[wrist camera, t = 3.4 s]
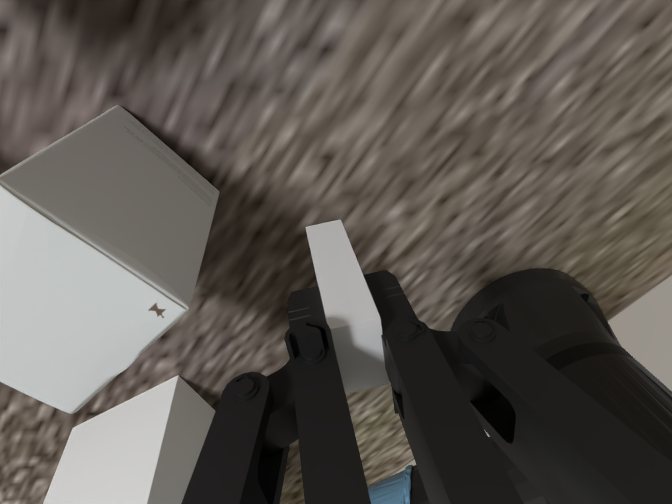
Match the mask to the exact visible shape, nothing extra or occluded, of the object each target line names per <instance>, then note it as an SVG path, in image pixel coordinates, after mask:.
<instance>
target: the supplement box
mask: <svg viewBox="0 0 672 504" xmlns="http://www.w3.org/2000/svg"><path fill="white" fill-rule="evenodd" d="M219 193H220V192H219V191H218V190H217V189H216V188H215V187H214V186H213V185H212V184H210V183H209V182H208V181H207V180H206V179H205V178H203V177H202V176H201V175H200V174H199V173H198V172H196V171H195V170H194V169H193V168H192V167H191V166H190V165H188V164H187V163H186V162H185V161H184V160H183V159H182V158H180V157H179V156H178V155H177V154H176V153H175V152H173V151H172V150H171V149H170V148H169V147H168V146H167V145H165V144H164V143H163V142H162V141H161V140H160V139H159V138H157V137H156V136H155V135H154V134H153V133H152V132H151V131H149V130H148V129H147V128H146V127H145V126H144V125H142V124H141V123H140V122H139V121H138V120H137V119H136V118H134V117H133V116H132V115H131V114H130V113H128V112H127V111H126V110H125V109H124V108H122V107H121V106H119V105H116V106H114V107H113V108H111V109H110V110H108V111H106V112H105V113H103V114H101V115H100V116H98V117H96V118H95V119H93V120H91V121H90V122H88V123H86V124H85V125H83V126H81V127H80V128H78V129H76V130H75V131H73V132H71V133H70V134H68V135H66V136H65V137H63V138H61V139H59V140H58V141H56V142H54V143H53V144H51V145H49V146H48V147H46V148H44V149H42V150H41V151H39V152H37V153H36V154H34V155H32V156H31V157H29V158H27V159H26V160H24V161H22V162H20V163H19V164H17V165H16V166H14V167H12V168H11V169H9V170H7V171H6V172H4V173H2V174H1V175H0V382H2V383H4V384H6V385H8V386H10V387H13V388H15V389H17V390H19V391H21V392H23V393H25V394H27V395H29V396H31V397H33V398H36V399H38V400H40V401H42V402H44V403H46V404H48V405H51V406H53V407H55V408H58V409H60V410H62V411H65V412H67V413H75V412H77V411H78V410H79V409H80V408H81V407H82V406H83V405H84V404H86V403H87V402H88V401H89V400H90V399H91V398H92V397H93V396H95V395H96V394H97V393H98V392H99V391H100V390H101V389H102V388H103V387H105V386H106V385H107V384H108V383H109V382H110V381H111V380H112V379H114V378H115V377H116V376H117V375H118V374H119V373H121V372H123V371H124V370H126V369H127V368H128V367H129V366H130V365H131V364H132V363H133V362H134V361H135V360H136V358H137V357H138V356H139V355H140V354H142V353H143V352H144V351H145V350H146V349H147V348H148V347H149V346H150V345H151V344H152V343H154V342H155V341H156V340H157V339H158V338H159V337H160V336H162V335H163V334H164V333H165V332H166V331H167V330H168V329H170V328H171V327H172V326H173V325H174V324H175V323H176V322H177V321H178V320H180V319H181V318H182V317H183V316H184V315H185V314H186V313H187V312H188V311H189V310H190V306H191V301H192V298H193V294H194V290H195V286H196V282H197V279H198V275H199V271H200V267H201V263H202V259H203V255H204V252H205V248H206V244H207V240H208V236H209V232H210V228H211V225H212V221H213V217H214V213H215V209H216V205H217V201H218V197H219Z"/></svg>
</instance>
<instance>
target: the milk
mask: <svg viewBox="0 0 672 504" xmlns="http://www.w3.org/2000/svg"><path fill="white" fill-rule="evenodd" d="M214 414H215V410H214V409H213V408H212V407H211V406H210V405H209V404H208V403H207V402H206V401H205V400H204V399H202V398H201V397H200V396H199V395H198V394H197V393H196V392H195V391H194V390H193V389H192V388H191V387H190V386H189V385H188V384H187V383H186V382H185V381H184V380H183V379H182V378H181V377H180V376H179V375H178V376H176V377H174V378H172V379H170V380H168V381H166V382H164V383H162V384H160V385H158V386H156V387H154V388H152V389H150V390H148V391H146V392H144V393H142V394H140V395H138V396H136V397H134V398H132V399H130V400H128V401H126V402H124V403H122V404H120V405H118V406H116V407H114V408H112V409H110V410H108V411H106V412H104V413H102V414H100V415H98V416H96V417H94V418H92V419H90V420H88V421H86V422H84V423H82V424H80V425H78V426H76V427H74V428H73V429H72V432H71V434H70V437H69V439H68V442H67V444H66V447H65V449H64V452H63V454H62V457H61V460H60V462H59V465H58V467H57V470H56V472H55V475H54V477H53V480H52V482H51V485H50V488H49V490H48V493H47V495H46V498H45V500H44V503H43V504H181V503H182V500H183V498H184V495H185V492H186V489H187V487H188V484H189V481H190V479H191V476H192V473H193V471H194V468H195V465H196V463H197V460H198V457H199V455H200V452H201V449H202V446H203V444H204V441H205V438H206V436H207V433H208V430H209V428H210V425H211V422H212V420H213V417H214Z"/></svg>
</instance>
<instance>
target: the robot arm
mask: <svg viewBox="0 0 672 504" xmlns="http://www.w3.org/2000/svg"><path fill="white" fill-rule="evenodd" d="M306 232H307V236H308V241H309V246H310V250H311V255H312V260H313V264H314V269H315V273H316V278H317V283H318V286H316V287H312V288H307V289H303V290H298V291H294V292H292V293H291V295H290V297H289V299H288V301H287V305H288V315H289V325H290V328H289V330H288V331H287V332H286V335H285V343H286V346H287V350H288V353H289V356H290V359H289V361H288V362H287V363H286V365H284V366H283V367H282V368H281V369H280V370H278V371H276V372H275V373H273V374H271V375H269V376H267V377H266V376H264V375H262V374H261V373H256V372H249V373H244V374H241V375H239V376H237V377H235V378H234V379H233V380H231V381H230V382H229V383H228V384H227V386H226V387H225V389H224V391H223V393H222V395H221V398H220V401H219V403H218V406H217V409H216V411H215V414H214V417H213V420H212V422H211V425H210V428H209V430H208V433H207V436H206V438H205V441H204V444H203V446H202V449H201V452H200V455H199V457H198V460H197V463H196V465H195V468H194V471H193V473H192V476H191V479H190V481H189V484H188V487H187V489H186V492H185V495H184V498H183V500H182V503H181V504H279V502H280V497H281V491H282V486H283V480H284V474H285V469H286V463H287V458H288V452H289V444H291V443H292V442H294V441H296V440H297V439H299V448H300V458H301V468H302V478H303V488H304V498H305V504H672V391H670V390H669V389H668V388H667V387H666V386H665V385H664V384H663V383H662V382H660V381H659V380H658V379H657V378H656V377H655V376H654V375H652V374H651V373H650V372H649V371H648V370H647V369H646V368H645V367H644V366H642V365H641V364H640V363H639V362H638V361H637V360H635V359H634V358H633V357H632V356H631V355H630V354H629V353H628V352H627V351H626V350H625V349H623V348H622V347H621V345H620V344H619V342H618V340H617V338H616V336H615V335H614V333H613V331H612V329H611V327H610V325H609V324H608V322H607V320H606V318H605V316H604V314H603V313H602V311H601V309H600V307H599V305H598V303H597V301H596V300H595V298H594V297H593V296H592V294H591V293H590V292H589V291H588V290H587V289H586V288H584V287H583V286H582V285H581V284H580V283H578V282H577V281H576V280H575V279H574V278H572V277H571V276H569V275H568V274H565V273H563V272H560V271H557V270H552V269H529V270H524V271H520V272H516V273H513V274H510V275H508V276H505V277H503V278H501V279H499V280H497V281H495V282H493V283H491V284H490V285H488V286H487V287H485V288H484V289H482V290H481V291H480V292H479V293H477V294H476V295H475V296H474V297H473V298H472V299H471V300H470V301H469V302H468V303H467V304H466V305H465V306H464V308H463V309H462V310H461V312H460V313H459V314H458V316H457V318H456V319H455V321H454V323H453V326H452V328H451V331H437V330H433V329H430V328H428V327H427V325H426V324H425V323H423V322H421V321H419V320H418V318H417V317H416V315H415V313H414V311H413V309H412V307H411V305H410V303H409V301H408V299H407V298H406V296H405V294H404V292H403V290H402V288H401V287H400V284H399V282H398V280H397V279H396V277H395V276H394V275H393V274H391V273H390V272H388V271H387V270H384V271H379V272H375V273H370V274H366V275H363V274H362V271H361V269H360V266H359V264H358V261H357V259H356V256H355V254H354V251H353V249H352V246H351V244H350V242H349V239H348V237H347V234H346V232H345V229H344V227H343V224H342V222H341V219H340V220H336V221H331V222H326V223H322V224H317V225H312V226H308V227H306ZM388 377H389V380H390V383H391V386H392V393H393V401H394V410H395V414H396V413H399V416H400V419H401V422H402V425H403V427H404V430H405V433H406V436H407V439H408V442H409V445H410V447H411V450H412V453H413V456H414V459H415V461H416V465H415V466H413V465H408V466H407V467H406V468H405V470H404V471H402V472H400V473H397V474H395V475H393V476H390V477H388V478H386V479H384V480H381V481H379V482H377V483H375V484H373V485H372V486H371V487H369V488H367V484H366V480H365V475H364V471H363V467H362V463H361V458H360V454H359V450H358V446H357V441H356V437H355V433H354V429H353V424H352V420H351V416H350V412H349V407H348V403H347V399H346V395H345V394H348V393H352V392H356V391H360V390H364V389H368V388H372V387H377V386H381V385H385V384H389V382H388ZM484 430H485V431H486V432H487V433H488V434H489V435H490V437H488V436H487V434H486V433H485V431H484Z"/></svg>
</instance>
